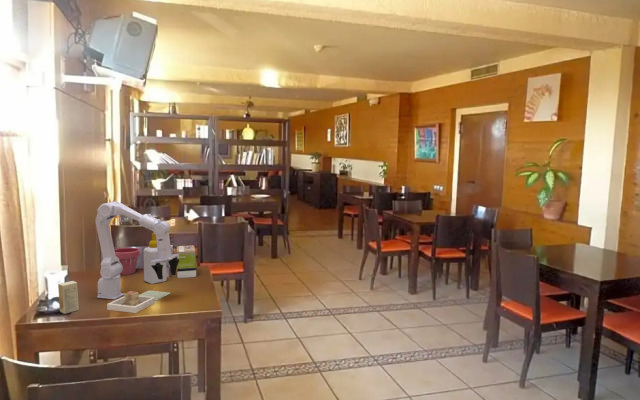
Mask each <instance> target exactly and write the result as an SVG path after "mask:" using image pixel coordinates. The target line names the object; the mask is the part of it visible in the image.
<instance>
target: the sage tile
mask: <svg viewBox="0 0 640 400" xmlns="http://www.w3.org/2000/svg"><path fill="white" fill-rule="evenodd" d="M171 294H172V293H171V292H169V291H158V290H157V291H156V290H146V291H145V292H142V293H140V294H138V296H147V297H155V302H157V301H159V300H161V299H164V298H165V297H167V296H169V295H171Z"/></svg>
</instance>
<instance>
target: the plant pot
mask: <svg viewBox="0 0 640 400" xmlns="http://www.w3.org/2000/svg"><path fill="white" fill-rule="evenodd" d="M114 250H115V255H116V257H118V258H119V261H120V263H121V264H122V266H123V270H122V272H121V273H120V275H124V276H125V275H132V274H135V273H136V269H137V265H138V261H139V260H138V259H139V258H140V255H141V252H140V249H139V248H137V247H120V248H114Z"/></svg>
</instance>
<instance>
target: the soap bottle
mask: <svg viewBox="0 0 640 400" xmlns="http://www.w3.org/2000/svg"><path fill="white" fill-rule="evenodd" d="M157 258H158V250H157V240H156V235H155V234H154V232H152V233H151V240H149V242H148V247H145V248H143V276H144V277H143V281H144V282H147V283H148V284H152V285H153V284H160V283H163V282H167V280H168V279H167V277H168V276H167V274H168V273H167V261H166V262H162V263H160V264H161V265H163V269H162V275H163V279H162V280H161V279H158V277H157V274H156V272H155V270H154V269H153V268H152V266H151V261H152V260H155V259H157Z"/></svg>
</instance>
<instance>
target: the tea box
mask: <svg viewBox="0 0 640 400" xmlns="http://www.w3.org/2000/svg"><path fill="white" fill-rule="evenodd" d="M176 254H179V258H177V259H179V263H178V265H177V269H176V274H177V278H178V279H185V278H195V277H197V254H196V248H195V245H193V244H192V245H179V246H177V245H176Z"/></svg>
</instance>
